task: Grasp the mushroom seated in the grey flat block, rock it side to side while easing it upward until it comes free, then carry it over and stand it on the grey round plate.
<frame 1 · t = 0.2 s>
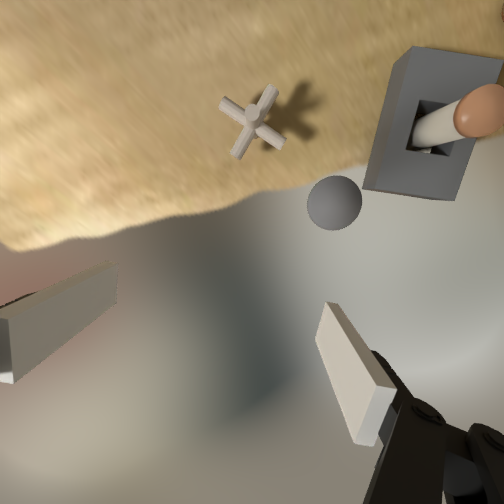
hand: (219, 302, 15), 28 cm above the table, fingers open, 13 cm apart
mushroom: (443, 125, 31), in the grey flat block
pipe connector: (254, 132, 38), on the table
grey round plate: (333, 203, 40), on the table
grey flat block: (414, 136, 37), on the table
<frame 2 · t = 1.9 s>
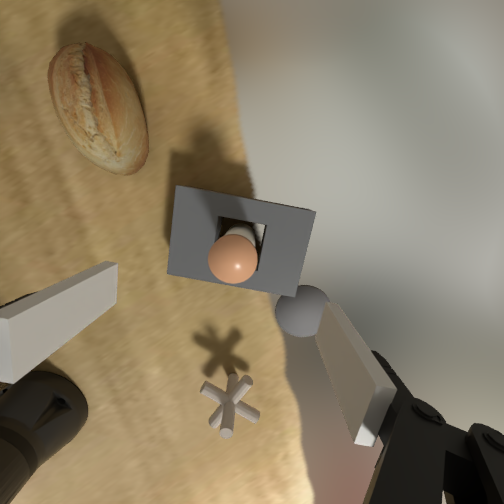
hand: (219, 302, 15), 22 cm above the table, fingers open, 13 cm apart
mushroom: (237, 246, 30), in the grey flat block
pipe connector: (233, 376, 42), on the table
grey round plate: (303, 311, 39), on the table
grey flat block: (240, 237, 36), on the table
bread roll: (120, 119, 33), on the table
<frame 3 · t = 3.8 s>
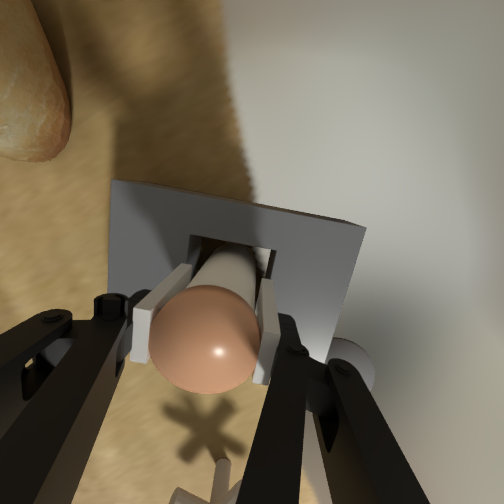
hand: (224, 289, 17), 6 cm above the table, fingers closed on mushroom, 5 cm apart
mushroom: (223, 291, 16), in the grey flat block, touching gripper
pipe connector: (223, 462, 29), on the table
grey round plate: (329, 375, 25), on the table
grey flat block: (232, 265, 22), on the table
bread roll: (25, 67, 19), on the table
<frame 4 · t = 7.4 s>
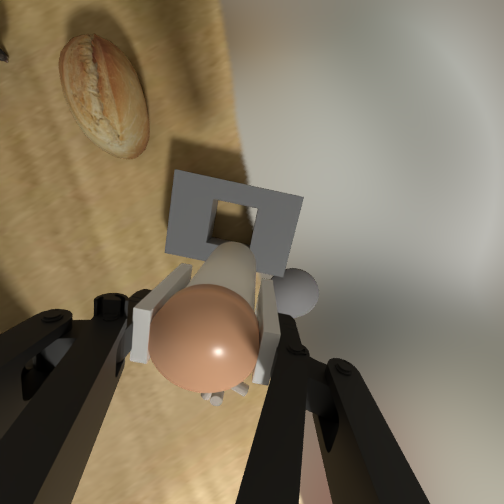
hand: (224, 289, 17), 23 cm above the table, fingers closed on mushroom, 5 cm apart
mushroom: (223, 290, 16), point 23 cm above the table, touching gripper
pipe connector: (225, 354, 45), on the table
grey round plate: (291, 293, 41), on the table
brown spinning top: (7, 58, 34), on the table
grey flat block: (234, 222, 38), on the table
bread roll: (123, 107, 35), on the table
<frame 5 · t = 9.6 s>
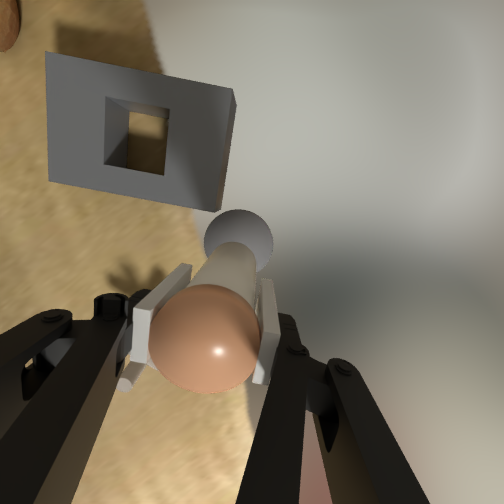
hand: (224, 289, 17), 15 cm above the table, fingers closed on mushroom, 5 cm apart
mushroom: (223, 291, 16), point 15 cm above the table, touching gripper
pipe connector: (161, 330, 35), on the table
grey round plate: (238, 244, 31), on the table
grey flat block: (154, 145, 29), on the table
when the fingers open (7 cm above the table, at t = 11.3 s): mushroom stays where it is, resting on grey round plate.
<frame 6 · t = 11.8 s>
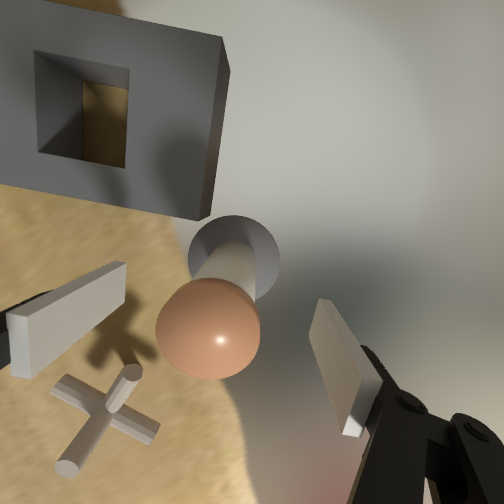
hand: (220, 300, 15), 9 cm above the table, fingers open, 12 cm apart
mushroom: (224, 286, 17), on the grey round plate
pipe connector: (136, 368, 27), on the table
grey round plate: (234, 261, 24), on the table
grey flat block: (118, 128, 21), on the table
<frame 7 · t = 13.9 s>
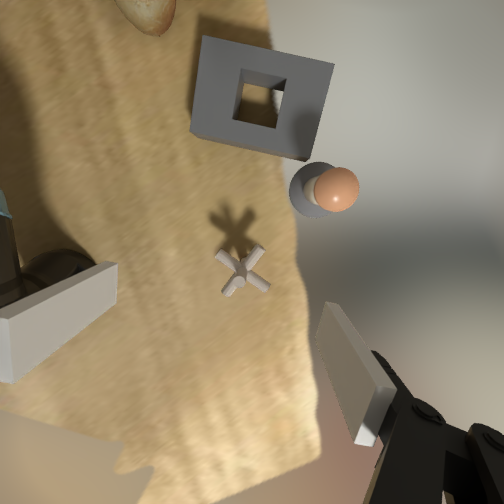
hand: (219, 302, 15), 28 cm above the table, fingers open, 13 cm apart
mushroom: (324, 190, 34), on the grey round plate
pipe connector: (245, 261, 44), on the table
grey round plate: (316, 190, 40), on the table
grey flat block: (259, 109, 38), on the table
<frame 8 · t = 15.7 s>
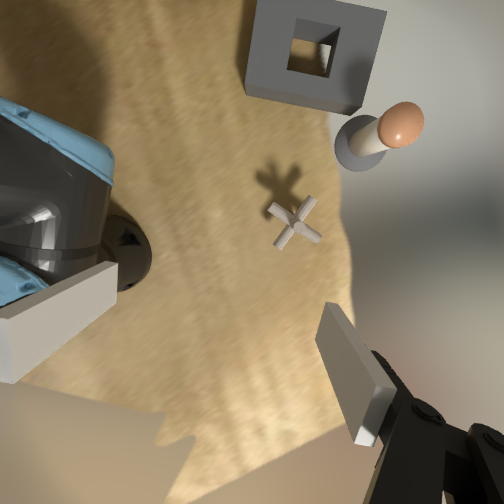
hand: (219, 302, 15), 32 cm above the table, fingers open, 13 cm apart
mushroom: (378, 135, 35), on the grey round plate
pipe connector: (290, 219, 45), on the table
grey round plate: (360, 144, 41), on the table
grey flat block: (307, 64, 39), on the table
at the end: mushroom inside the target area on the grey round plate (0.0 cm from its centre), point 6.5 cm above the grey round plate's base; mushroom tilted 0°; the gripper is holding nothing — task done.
